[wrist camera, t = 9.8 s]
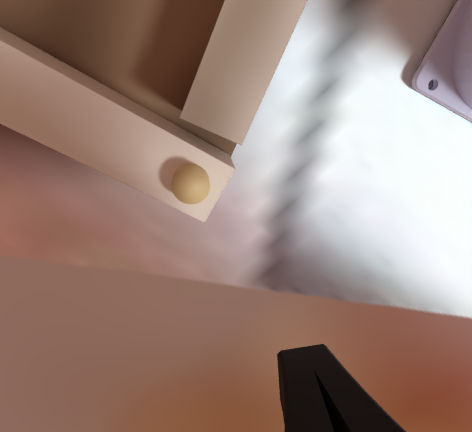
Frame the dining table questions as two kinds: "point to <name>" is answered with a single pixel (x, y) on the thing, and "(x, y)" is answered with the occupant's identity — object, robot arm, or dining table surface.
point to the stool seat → (169, 53)
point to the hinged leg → (107, 130)
